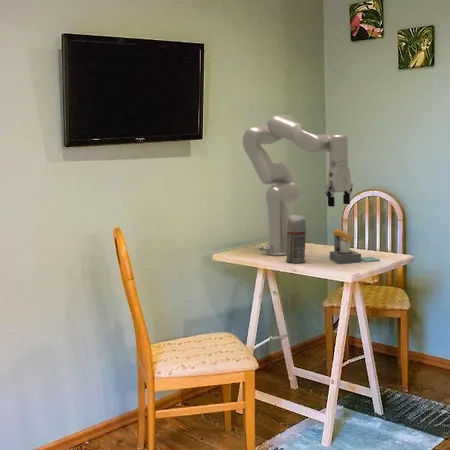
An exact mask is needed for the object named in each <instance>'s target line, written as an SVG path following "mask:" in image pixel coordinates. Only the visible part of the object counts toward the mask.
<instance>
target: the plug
mask: <svg viewBox="0 0 450 450" xmlns="http://www.w3.org/2000/svg"><path fill="white" fill-rule="evenodd" d="M350 250H351V241H348V242H347V241H346V239H345V238H342V239H341V240H340V251H339V253H340V254H350V253H351V251H350Z"/></svg>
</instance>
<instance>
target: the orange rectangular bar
mask: <svg viewBox="0 0 450 450" xmlns="http://www.w3.org/2000/svg"><path fill="white" fill-rule="evenodd" d="M333 236H340V237H341V239H346V241H347V242H348V241H350V242H352V234H350V233H347V232H346V231H343V230H342V229H333Z"/></svg>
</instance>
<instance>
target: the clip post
mask: <svg viewBox="0 0 450 450" xmlns="http://www.w3.org/2000/svg"><path fill="white" fill-rule="evenodd" d="M333 237H334V239H333V241H334V242H333V243H334V244H333V247H334V248H333V251H340V240H342V237H340V236H335V235H333Z"/></svg>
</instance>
